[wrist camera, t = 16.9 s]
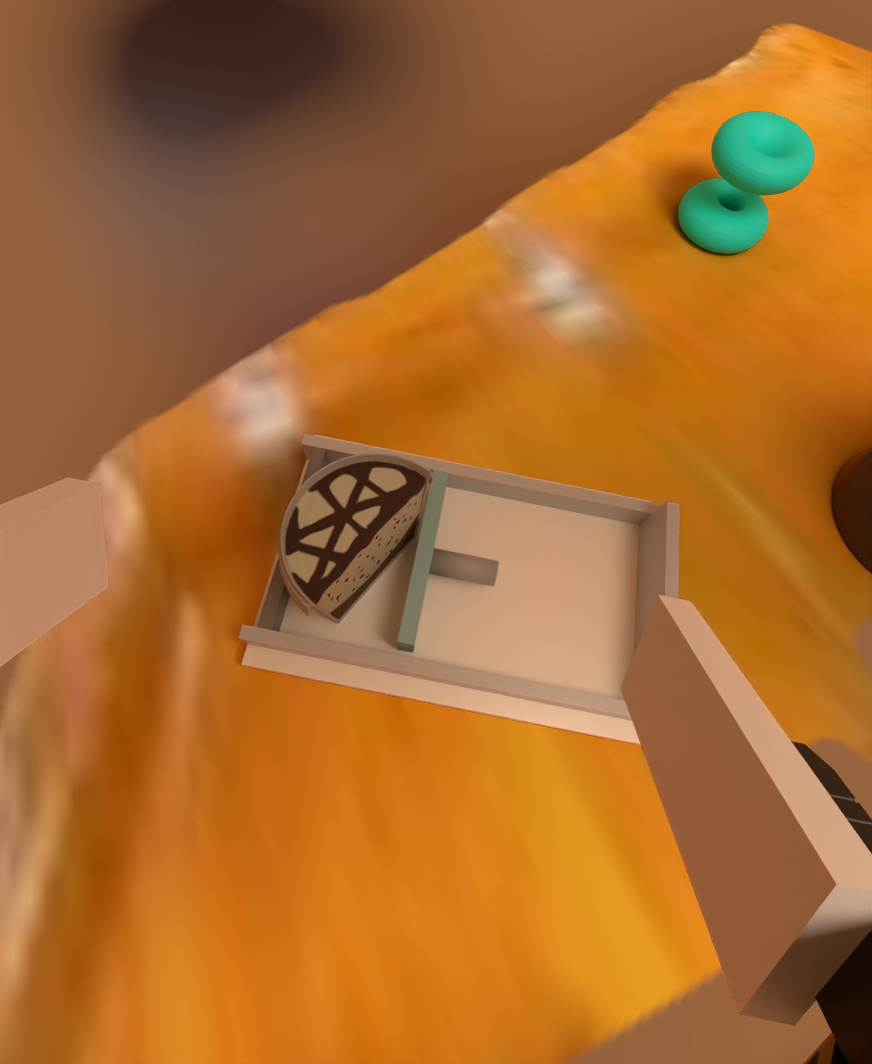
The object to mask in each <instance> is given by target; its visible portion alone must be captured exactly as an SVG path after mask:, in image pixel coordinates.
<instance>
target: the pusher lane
mask: <svg viewBox="0 0 872 1064" xmlns="http://www.w3.org/2000/svg"><path fill="white" fill-rule="evenodd" d="M302 447H303V450H304V453H305V456H306V462H305V465H304V468H303V471H302V474H301V478H300V481H299V484H298V487H297V490H296V492H297V491H298V489H299V488H300V487H301V486H302V485H303V484H304V483H305V482H306V480H307V479H309V478H310V477H311V476H312V475H313V474H315V473H316V472H317V471H319V470H320V469H322V468H323V467H325V466H327V465H328V464H330V463H333V462H335V461H337V460H340V459H342V458H346V457H350V456H353V455H359V454H367V453H383V454H390V455H396V456H399V457H403V458H406V459H409V460H411V461H414V462H416V463H418V464H420V465H422V466H423V467H425V468H427V469H428V470H430V471H431V472H432V473H433V471H434V470H438V471H443V472H448V473H449V475H448V480H447V485H446V490H445V495H444V500H443V505H442V510H441V515H440V520H439V525H438V530H437V535H436V540H435V545H434V548H436V549H441V550H446V551H451V552H456V553H461V554H466V555H471V556H476V557H481V558H486V559H491V560H496V561H498V572H497V577H496V581H495V584H494V586H488V585H483V584H478V583H473V582H468V581H463V580H458V579H453V578H448V577H443V576H438V575H433V574H429V576H428V581H427V586H426V591H425V596H424V601H423V606H422V611H421V616H420V621H419V626H418V631H417V636H416V641H415V646H414V651H413V653H412V652H407V651H402V650H397V641H398V636H399V632H400V627H401V622H402V617H403V613H404V608H405V603H406V599H407V594H408V589H409V584H410V580H411V575H412V570H413V566H414V561H415V556H416V551H417V547H418V542H419V537H420V533H421V528H422V523H423V518H424V514H425V509H426V504H427V500H428V495H429V490H430V485H431V480H429V483H428V488H427V492H426V496H425V501H424V505H423V509H422V514H421V518H420V522H419V527H418V531H417V535H416V537H415V538H414V539H413V541H412V542H411V543H410V544H409V545H408V546H407V547H406V548H405V550H404V551H403V552H402V553H401V554H400V555H399V556H398V557H397V559H396V560H395V561H394V562H393V563H392V564H391V565H390V566H389V568H388V569H387V570H386V571H385V572H384V573H383V574H382V575H381V577H380V578H379V579H378V580H377V581H376V582H375V583H374V584H373V585H372V587H371V588H370V589H369V590H368V591H367V592H366V593H365V594H364V596H363V597H362V598H361V599H360V600H359V601H358V602H357V603H356V605H355V606H354V607H353V608H352V609H351V610H350V611H349V612H348V614H347V615H346V616H345V617H344V618H343V619H342V620H341V621H340V623H339V624H338V623H337V622H335V621H334V620H332V619H331V618H329V617H328V616H326V615H325V614H323V613H322V612H321V611H319V610H318V609H316V608H315V607H313V606H312V605H311V606H310V615H309V616H307V615H306V614H305V613H304V612H303V611H302V610H301V609H300V608H299V607H298V605H297V604H296V602H295V601H294V599H293V598H292V597H291V595H290V593H289V591H288V589H287V587H286V585H285V583H284V581H283V577H282V574H281V570H280V565H279V555H278V550H277V553H276V556H275V559H274V563H273V566H272V569H271V572H270V575H269V578H268V582H267V585H266V588H265V591H264V594H263V597H262V600H261V604H260V607H259V610H258V613H257V616H256V619H255V622H254V626H248V625H242V628H241V631H240V634H239V637H238V639H240V640H242V641H243V642H245V643H247V644H248V645H247V648H246V651H245V654H244V657H243V660H242V663H241V665H244V666H246V667H249V668H254V669H259V670H264V671H269V672H274V673H279V674H284V675H289V676H294V677H299V678H304V679H309V680H314V681H319V682H324V683H329V684H334V685H339V686H344V687H349V688H354V689H359V690H364V691H369V692H374V693H379V694H384V695H389V696H394V697H399V698H404V699H409V700H414V701H419V702H424V703H429V704H434V705H439V706H444V707H449V708H454V709H459V710H464V711H469V712H474V713H479V714H484V715H489V716H494V717H500V718H505V719H510V720H515V721H520V722H525V723H530V724H535V725H540V726H545V727H550V728H555V729H560V730H565V731H570V732H575V733H580V734H585V735H590V736H595V737H600V738H605V739H610V740H615V741H620V742H625V743H630V744H635V745H641V744H640V741H639V738H638V735H637V733H636V730H635V727H634V724H633V722H632V719H631V716H630V713H629V711H628V708H627V705H626V702H625V700H624V697H623V694H622V691H621V689H620V688H621V686H622V683H623V681H624V679H625V676H626V674H627V671H628V669H629V666H630V664H631V661H632V659H633V656H634V654H635V651H636V649H637V646H638V644H639V641H640V639H641V636H642V634H643V632H644V629H645V627H646V624H647V622H648V619H649V617H650V614H651V612H652V609H653V607H654V604H655V602H656V599H657V597H658V595H662V596H667V597H672V598H677V599H679V545H680V503H677V502H672V501H666V502H665V503H664V504H658V503H653V502H652V501H648V500H643V499H638V498H633V497H628V496H623V495H618V494H613V493H608V492H603V491H598V490H593V489H587V488H582V487H577V486H572V485H567V484H562V483H557V482H552V481H547V480H542V479H537V478H532V477H527V476H522V475H517V474H512V473H507V472H502V471H496V470H491V469H486V468H481V467H476V466H471V465H466V464H461V463H456V462H451V461H446V460H441V459H436V458H431V457H426V456H421V455H416V454H411V453H406V452H400V451H395V450H390V449H385V448H380V447H375V446H370V445H365V444H360V443H355V442H350V441H345V440H340V439H335V438H330V437H325V436H320V435H315V434H314V435H310V434H305V435H304V438H303V441H302Z"/></svg>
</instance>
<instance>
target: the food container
mask: <svg viewBox="0 0 872 1064" xmlns="http://www.w3.org/2000/svg"><path fill="white" fill-rule="evenodd" d="M429 480H431V481H433V480H434V477H433V473H432V472H431V471H430V470H428V469H427V468H425V467H423V466H422V465H420V464H418V463H416V462H414V461H411V460H409V459H406V458H403V457H399V456H396V455H390V454H383V453H367V454H359V455H353V456H350V457H346V458H342V459H340V460H337V461H335V462H333V463H330V464H328V465H327V466H325V467H323V468H322V469H320V470H319V471H317V472H316V473H315V474H313V475H312V476H311V477H310V478H309V479H307V480H306V482H305V483H304V484H303V485H302V486H301V487H300V488H299V489H298V491H297V492H296V493H295V495H294V496H293V498H292V499H291V501H290V502H289V504H288V506H287V508H286V511H285V513H284V515H283V518H282V522H281V526H280V530H279V540H278V555H279V565H280V570H281V574H282V577H283V581H284V583H285V585H286V587H287V589H288V591H289V593H290V595H291V597H292V598H293V599H294V601H295V602H296V604H297V605H298V607H299V608H300V609H301V610H302V611H303V612H304V613H305V614H306V615H307V616H309V615H310V606H311V605H312V606H313V607H315V608H316V609H318V610H319V611H321V612H322V613H323V614H325V615H326V616H328V617H329V618H331V619H332V620H334V621H335V622H337V623H338V624H339V623H340V621H341V620H342V619H343V618H344V617H345V616H346V615H347V614H348V612H349V611H350V610H351V609H352V608H353V607H354V606H355V605H356V603H357V602H358V601H359V600H360V599H361V598H362V597H363V596H364V594H365V593H366V592H367V591H368V590H369V589H370V588H371V587H372V585H373V584H374V583H375V582H376V581H377V580H378V579H379V578H380V577H381V575H382V574H383V573H384V572H385V571H386V570H387V569H388V568H389V566H390V565H391V564H392V563H393V562H394V561H395V560H396V559H397V557H398V556H399V555H400V554H401V553H402V552H403V551H404V550H405V548H406V547H407V546H408V545H409V544H410V543H411V542H412V541H413V539H414V538H415V537H416V535H417V531H418V527H419V522H420V518H421V514H422V509H423V505H424V501H425V496H426V492H427V488H428V483H429Z"/></svg>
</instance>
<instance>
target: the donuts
mask: <svg viewBox="0 0 872 1064" xmlns="http://www.w3.org/2000/svg"><path fill="white" fill-rule="evenodd" d="M711 153H712V160H713V163H714V165H715V167H716V169H717V171H718V173H719V174H720V175H721V176H722V177H723V178H713V179H708V180H704V181H701V182H699V183H697V184H695V185H694V186H692V187H691V188H690V189H689V190H688V191H687V192H686V193H685V194H684V196H683V197H682V199H681V201H680V204H679V207H678V221H679V224H680V226H681V228H682V230H683V232H684V233H685V235H686V236H687V237H688V238H689V239H690V240H691V241H692V242H694V243H695V244H697V245H698V246H700V247H702V248H704V249H706V250H709V251H712V252H716V253H722V254H733V253H739V252H742V251H745V250H747V249H749V248H751V247H753V246H754V245H755V244H756V243H758V242H759V241H760V239H761V238H762V237H763V235H764V234H765V231H766V229H767V226H768V210H767V207H766V205H765V203H764V201H763V199H762V198H761V197H760V195H774V194H779V193H783V192H786V191H788V190H790V189H792V188H794V187H795V186H797V185H798V184H800V183H801V182H802V181H803V180H804V179H805V178H806V176H807V175H808V174H809V172H810V170H811V168H812V166H813V162H814V156H815V154H814V147H813V144H812V142H811V139H810V138H809V136H808V135H807V134H806V132H805V131H804V130H803V129H802V128H801V127H799V126H798V125H797V124H795V123H794V122H792V121H791V120H789V119H787V118H785V117H782V116H780V115H777V114H773V113H769V112H762V111H750V112H744V113H741V114H738V115H736V116H733V117H732V118H730V119H729V120H727V121H726V122H725V123H724V124H723V125H722V126H721V127H720V128H719V130H718V131H717V133H716V135H715V137H714V140H713V143H712V150H711Z"/></svg>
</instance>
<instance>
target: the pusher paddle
mask: <svg viewBox="0 0 872 1064" xmlns="http://www.w3.org/2000/svg"><path fill="white" fill-rule="evenodd" d="M448 475H449V473H448V472H443V471H438V470H434V471H433V477H434V480H433V481H431V485H430V490H429V495H428V500H427V504H426V509H425V514H424V518H423V523H422V528H421V533H420V537H419V542H418V547H417V551H416V556H415V561H414V566H413V570H412V575H411V580H410V584H409V589H408V594H407V599H406V603H405V608H404V613H403V617H402V622H401V627H400V632H399V636H398V641H397V650H402V651H407V652H412V653H413V651H414V646H415V641H416V636H417V631H418V626H419V621H420V616H421V611H422V606H423V601H424V596H425V591H426V586H427V581H428V576H429V574H433V575H438V576H443V577H448V578H453V579H458V580H463V581H468V582H473V583H478V584H483V585H488V586H494V584H495V581H496V577H497V572H498V561H496V560H491V559H486V558H481V557H476V556H471V555H466V554H461V553H456V552H451V551H446V550H441V549H436V548H434V545H435V540H436V535H437V530H438V525H439V520H440V515H441V510H442V505H443V500H444V495H445V490H446V485H447V480H448Z"/></svg>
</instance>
